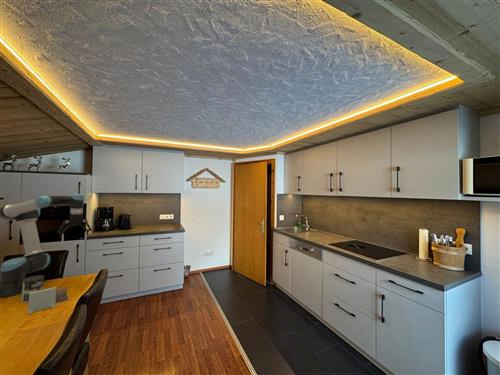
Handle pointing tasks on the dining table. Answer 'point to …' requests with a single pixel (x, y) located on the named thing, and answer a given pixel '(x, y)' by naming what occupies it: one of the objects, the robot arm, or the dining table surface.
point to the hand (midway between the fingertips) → (74, 241)
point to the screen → (41, 300)
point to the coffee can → (31, 286)
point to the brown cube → (61, 294)
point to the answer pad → (62, 300)
